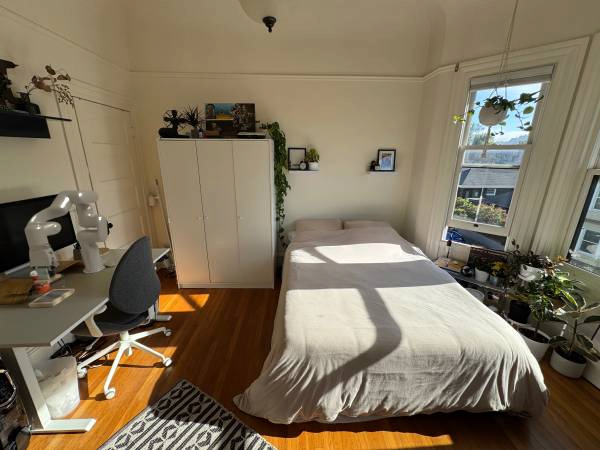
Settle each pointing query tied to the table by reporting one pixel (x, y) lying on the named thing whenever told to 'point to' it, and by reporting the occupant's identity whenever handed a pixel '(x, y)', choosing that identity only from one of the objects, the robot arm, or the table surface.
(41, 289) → the paper cup
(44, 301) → the wooden picture frame
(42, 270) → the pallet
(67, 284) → the table surface
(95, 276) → the table surface
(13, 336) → the table surface
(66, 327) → the table surface
